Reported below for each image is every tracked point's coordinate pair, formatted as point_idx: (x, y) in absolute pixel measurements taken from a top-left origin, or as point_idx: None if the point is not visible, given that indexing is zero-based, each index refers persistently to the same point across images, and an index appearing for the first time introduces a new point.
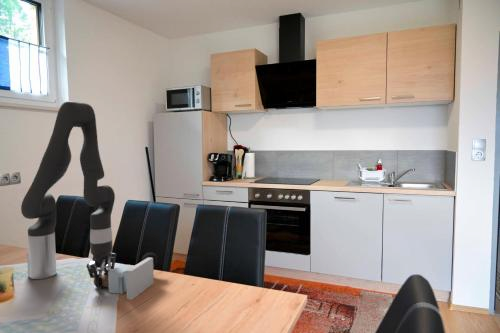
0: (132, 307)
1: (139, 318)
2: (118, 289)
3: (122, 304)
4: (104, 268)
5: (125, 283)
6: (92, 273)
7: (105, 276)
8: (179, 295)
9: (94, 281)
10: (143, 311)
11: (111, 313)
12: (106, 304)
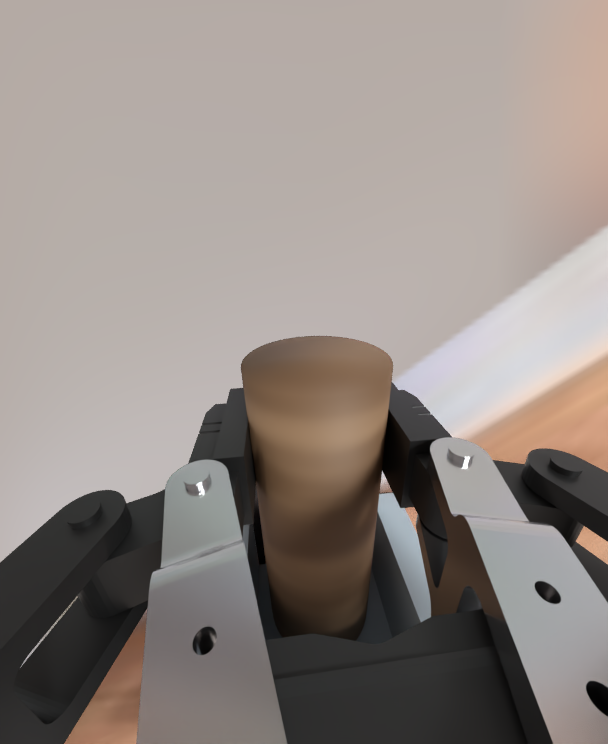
0: (133, 686)
1: (74, 739)
2: None
3: (131, 648)
4: (452, 513)
5: None
6: (69, 589)
7: (303, 530)
8: None
9: (243, 380)
10: (130, 722)
11: (20, 667)
12: (76, 598)
